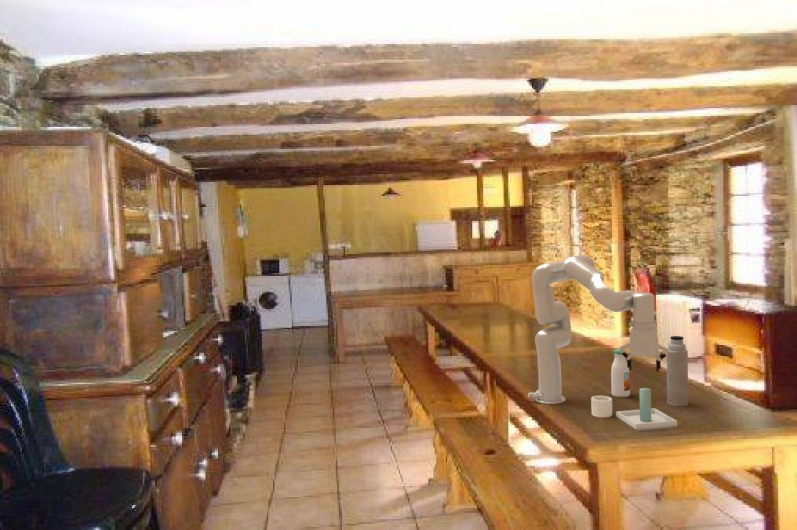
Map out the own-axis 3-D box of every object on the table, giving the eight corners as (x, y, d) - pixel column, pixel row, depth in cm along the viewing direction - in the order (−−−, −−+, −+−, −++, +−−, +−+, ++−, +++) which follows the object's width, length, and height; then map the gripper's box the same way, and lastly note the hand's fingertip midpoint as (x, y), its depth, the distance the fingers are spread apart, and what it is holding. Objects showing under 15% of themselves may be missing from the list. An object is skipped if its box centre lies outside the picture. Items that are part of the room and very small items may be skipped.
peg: (643, 422, 241) (642, 391, 241) (638, 419, 245) (637, 388, 245) (653, 421, 242) (652, 390, 241) (648, 418, 246) (647, 387, 245)
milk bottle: (618, 398, 277) (617, 352, 275) (608, 393, 284) (606, 349, 283) (633, 396, 279) (632, 350, 277) (623, 391, 286) (622, 347, 285)
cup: (596, 419, 250) (596, 401, 249) (588, 413, 258) (588, 396, 257) (615, 417, 251) (615, 400, 250) (607, 412, 259) (606, 394, 258)
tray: (636, 431, 235) (635, 424, 235) (616, 417, 251) (616, 411, 251) (677, 427, 237) (677, 420, 237) (654, 414, 253) (654, 408, 252)
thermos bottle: (664, 401, 269) (662, 335, 267) (682, 400, 269) (681, 334, 267) (672, 406, 261) (671, 338, 259) (692, 405, 261) (691, 337, 259)
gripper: (619, 326, 240) (619, 371, 242) (669, 327, 235) (669, 373, 236) (619, 323, 247) (619, 366, 249) (667, 324, 242) (667, 368, 243)
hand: (643, 370), depth 243 cm, fingers open, 9 cm apart
